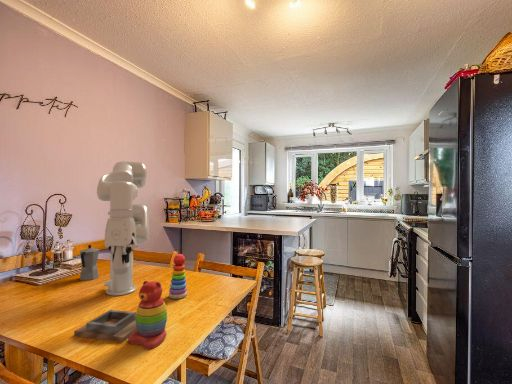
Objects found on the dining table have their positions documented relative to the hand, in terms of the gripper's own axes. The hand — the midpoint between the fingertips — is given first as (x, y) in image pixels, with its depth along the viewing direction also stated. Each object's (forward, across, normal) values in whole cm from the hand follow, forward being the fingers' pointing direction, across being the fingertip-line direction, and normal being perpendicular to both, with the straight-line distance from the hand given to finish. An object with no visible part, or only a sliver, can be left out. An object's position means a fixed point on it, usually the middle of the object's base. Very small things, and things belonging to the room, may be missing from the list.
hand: (120, 264), depth 98 cm
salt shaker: (+3, 0, 0) cm, 3 cm away
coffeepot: (+18, -49, +37) cm, 64 cm away
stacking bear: (+21, +18, -9) cm, 29 cm away
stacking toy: (+20, +10, +25) cm, 33 cm away
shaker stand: (+20, +3, -7) cm, 21 cm away
